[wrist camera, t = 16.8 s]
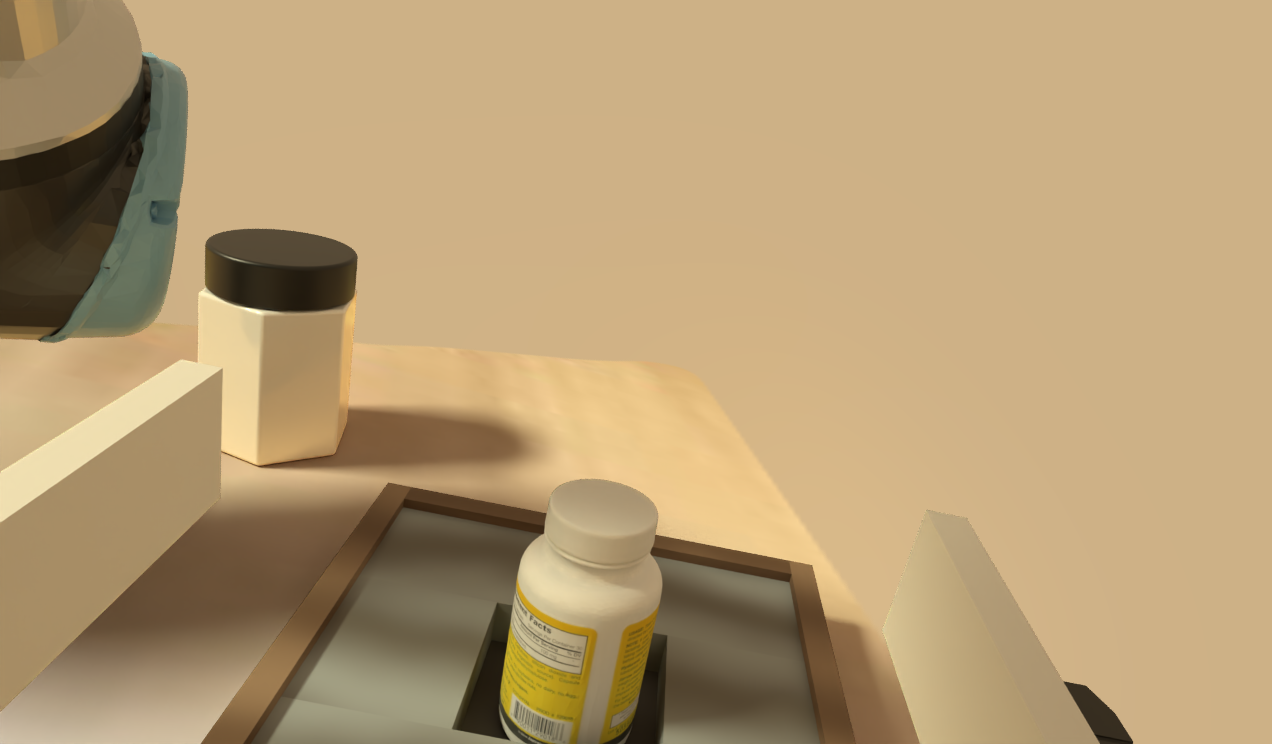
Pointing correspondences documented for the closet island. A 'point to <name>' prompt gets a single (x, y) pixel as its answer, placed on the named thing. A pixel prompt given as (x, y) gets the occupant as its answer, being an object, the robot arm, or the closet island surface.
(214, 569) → the closet island surface
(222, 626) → the closet island surface
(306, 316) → the jar
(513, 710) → the supplement bottle
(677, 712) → the bore box
